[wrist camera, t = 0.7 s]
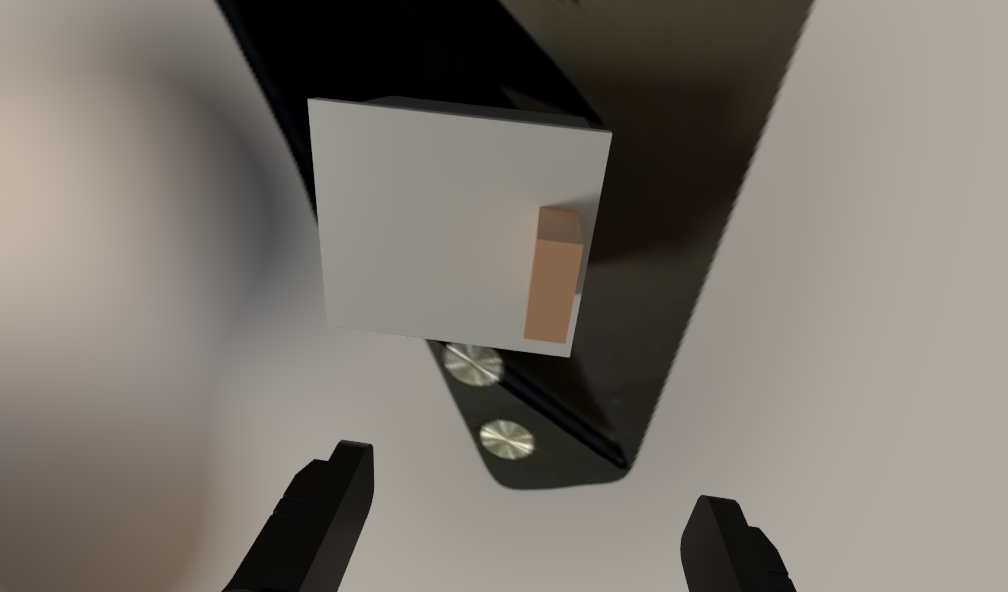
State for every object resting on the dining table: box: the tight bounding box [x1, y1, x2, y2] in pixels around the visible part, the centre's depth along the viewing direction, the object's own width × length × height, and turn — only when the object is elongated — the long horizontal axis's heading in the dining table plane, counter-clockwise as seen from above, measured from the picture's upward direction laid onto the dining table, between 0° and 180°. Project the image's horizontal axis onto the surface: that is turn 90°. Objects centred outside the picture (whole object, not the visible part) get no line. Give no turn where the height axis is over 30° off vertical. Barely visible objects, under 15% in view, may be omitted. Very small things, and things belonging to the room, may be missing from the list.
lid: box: [308, 98, 612, 357], centre depth 24 cm, size 13×15×7 cm
